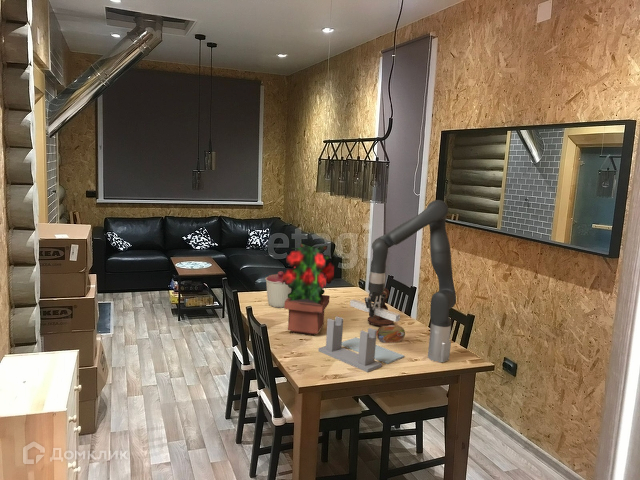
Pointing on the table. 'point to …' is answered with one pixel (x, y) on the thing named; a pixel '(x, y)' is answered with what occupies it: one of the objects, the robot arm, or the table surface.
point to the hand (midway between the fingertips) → (373, 315)
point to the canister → (277, 290)
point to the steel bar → (375, 310)
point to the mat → (380, 352)
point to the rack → (357, 360)
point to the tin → (390, 333)
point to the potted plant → (307, 288)
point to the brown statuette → (377, 319)
